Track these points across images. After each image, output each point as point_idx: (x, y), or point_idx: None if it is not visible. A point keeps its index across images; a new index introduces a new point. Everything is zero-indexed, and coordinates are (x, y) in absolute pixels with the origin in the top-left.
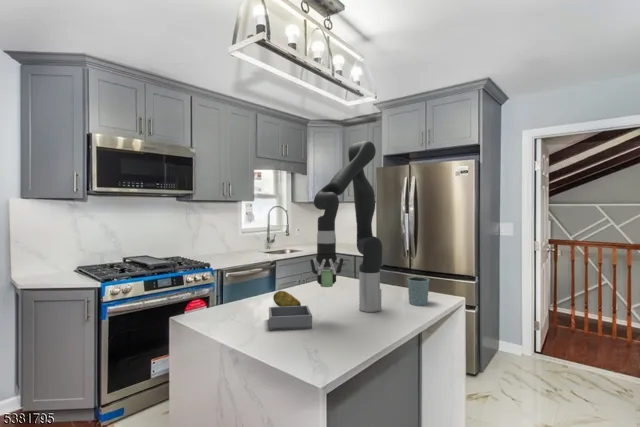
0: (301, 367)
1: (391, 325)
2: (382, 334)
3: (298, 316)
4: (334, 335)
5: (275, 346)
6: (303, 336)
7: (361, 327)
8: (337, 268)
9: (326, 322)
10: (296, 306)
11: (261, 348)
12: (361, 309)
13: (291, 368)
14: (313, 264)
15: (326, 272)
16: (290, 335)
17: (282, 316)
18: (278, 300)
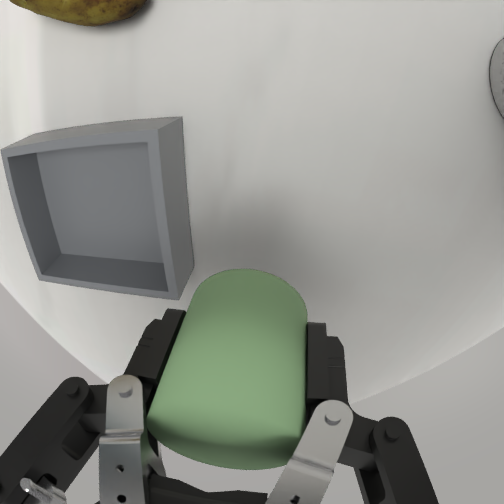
0: None
1: (483, 294)
2: (408, 351)
3: (125, 292)
4: None
5: (108, 349)
6: None
7: (386, 294)
8: (379, 465)
9: (266, 209)
10: (98, 144)
11: (84, 347)
12: (495, 90)
13: None
14: (60, 486)
15: (215, 463)
16: (127, 303)
17: (71, 283)
18: (25, 8)
